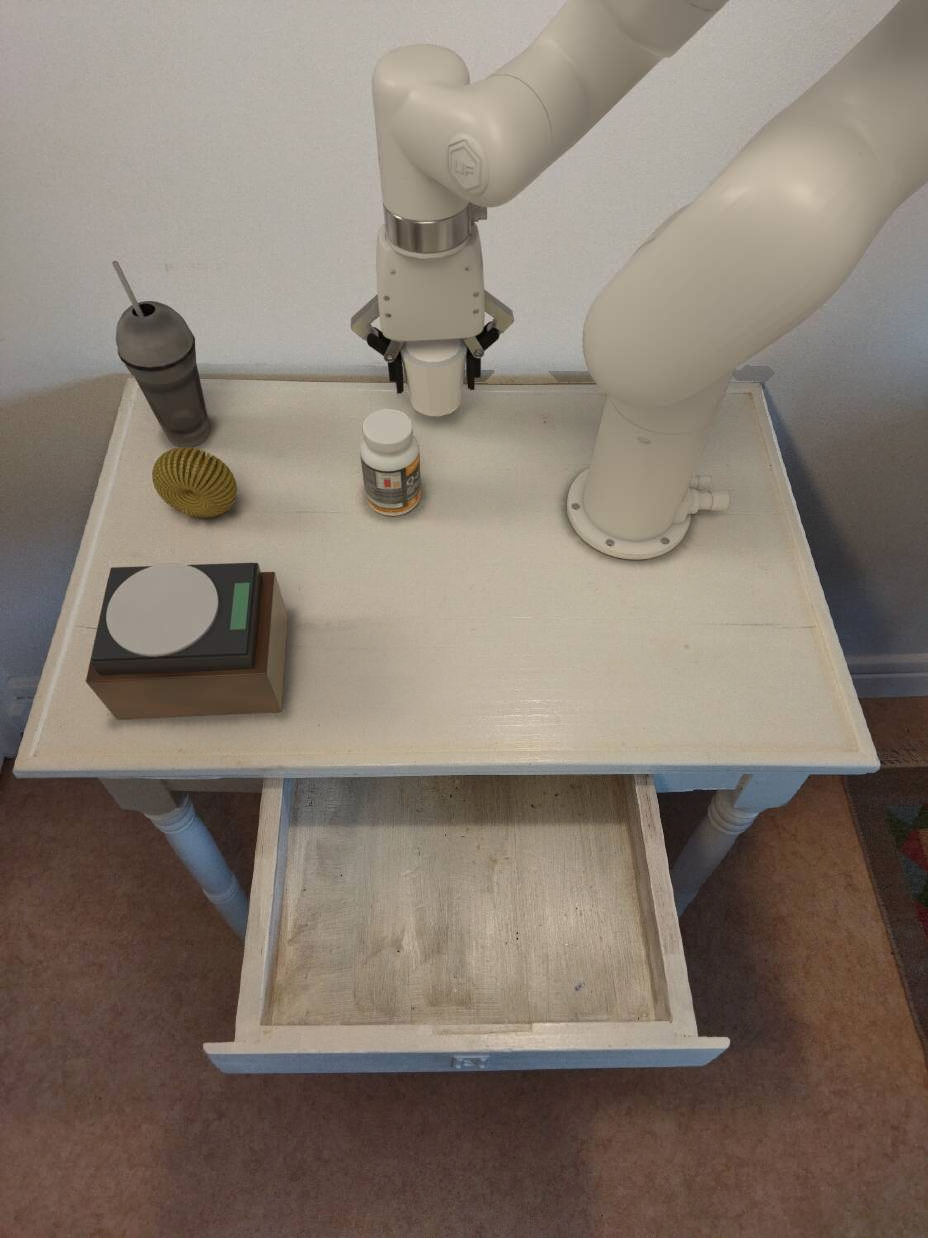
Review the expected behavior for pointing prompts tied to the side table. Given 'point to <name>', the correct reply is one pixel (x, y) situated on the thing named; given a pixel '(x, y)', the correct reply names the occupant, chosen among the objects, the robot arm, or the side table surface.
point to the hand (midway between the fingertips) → (435, 381)
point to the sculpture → (194, 482)
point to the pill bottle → (390, 462)
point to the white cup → (434, 374)
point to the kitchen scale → (178, 619)
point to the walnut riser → (207, 677)
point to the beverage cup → (163, 366)
